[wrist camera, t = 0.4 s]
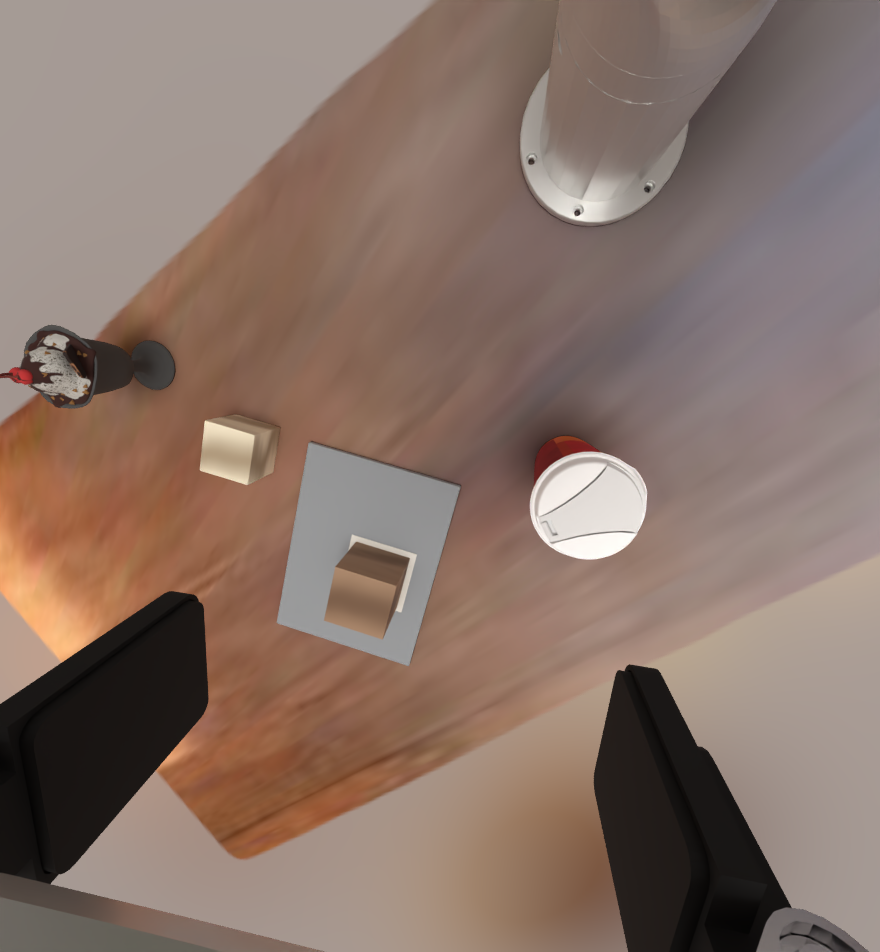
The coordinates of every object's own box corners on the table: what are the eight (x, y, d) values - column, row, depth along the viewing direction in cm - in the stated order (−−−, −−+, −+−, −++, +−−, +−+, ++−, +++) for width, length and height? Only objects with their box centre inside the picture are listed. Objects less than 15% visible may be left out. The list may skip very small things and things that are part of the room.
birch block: (235, 414, 47) (205, 420, 42) (280, 427, 46) (254, 435, 41) (230, 459, 48) (199, 470, 43) (273, 472, 48) (247, 484, 43)
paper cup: (543, 514, 44) (558, 582, 31) (510, 445, 43) (511, 485, 30) (620, 482, 43) (672, 540, 29) (588, 409, 41) (627, 434, 28)
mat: (311, 441, 46) (308, 442, 45) (460, 485, 45) (460, 487, 44) (279, 620, 52) (276, 623, 52) (410, 662, 51) (408, 666, 50)
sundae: (118, 382, 47) (-50, 393, 33) (131, 321, 46) (-42, 304, 31) (174, 409, 47) (29, 431, 33) (189, 348, 45) (42, 344, 31)
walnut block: (356, 541, 47) (335, 566, 42) (410, 558, 47) (396, 586, 41) (345, 589, 49) (323, 620, 43) (397, 606, 49) (382, 639, 43)
